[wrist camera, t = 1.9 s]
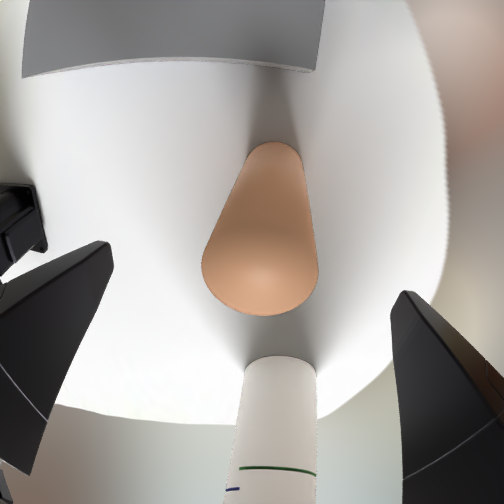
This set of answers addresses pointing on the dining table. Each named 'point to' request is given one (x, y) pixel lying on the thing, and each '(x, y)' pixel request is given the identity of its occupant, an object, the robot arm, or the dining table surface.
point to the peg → (264, 237)
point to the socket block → (170, 33)
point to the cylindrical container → (275, 435)
